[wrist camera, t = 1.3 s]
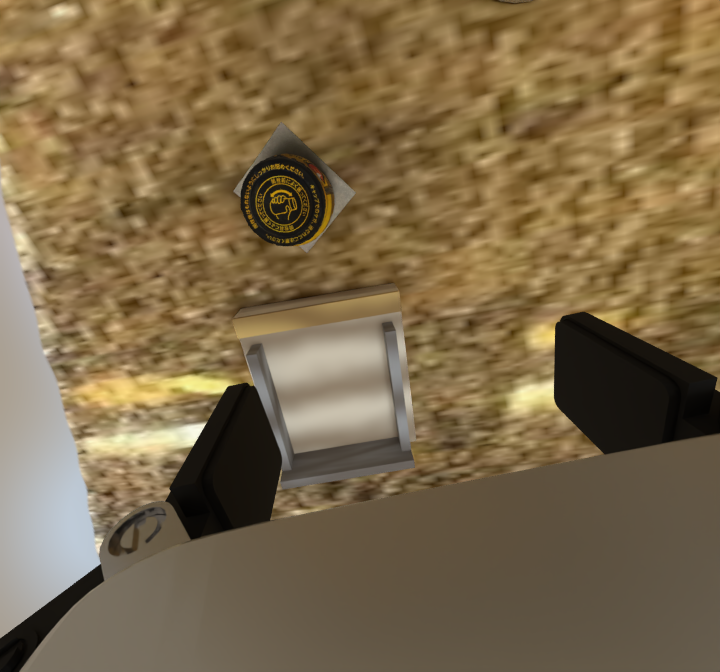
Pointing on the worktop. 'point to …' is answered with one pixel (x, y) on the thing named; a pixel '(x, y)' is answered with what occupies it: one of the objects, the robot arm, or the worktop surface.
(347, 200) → the condiment
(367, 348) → the dock
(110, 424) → the worktop surface
